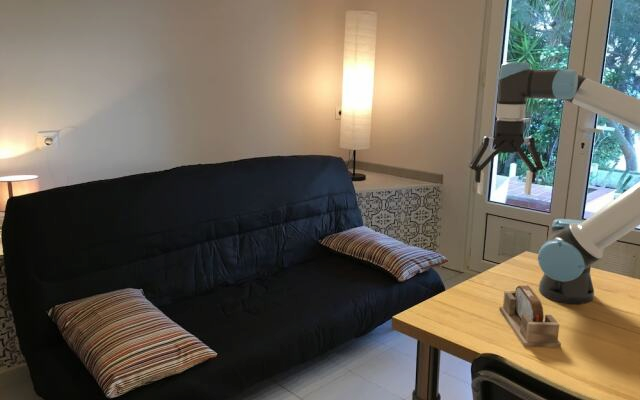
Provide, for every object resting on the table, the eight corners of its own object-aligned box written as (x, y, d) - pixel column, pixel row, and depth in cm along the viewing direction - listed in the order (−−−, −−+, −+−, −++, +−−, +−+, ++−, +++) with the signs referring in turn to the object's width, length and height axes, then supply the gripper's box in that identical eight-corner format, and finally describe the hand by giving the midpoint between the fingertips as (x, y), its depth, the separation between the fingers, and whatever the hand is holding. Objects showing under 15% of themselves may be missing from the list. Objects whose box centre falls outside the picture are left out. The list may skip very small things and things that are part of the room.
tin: (541, 336, 131) (547, 306, 129) (528, 335, 131) (535, 305, 129) (521, 308, 146) (527, 280, 144) (510, 307, 146) (515, 279, 144)
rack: (531, 310, 147) (533, 291, 146) (560, 347, 128) (563, 325, 126) (499, 310, 148) (501, 290, 146) (523, 346, 128) (526, 324, 127)
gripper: (550, 118, 147) (542, 190, 153) (461, 118, 148) (457, 190, 154) (561, 120, 140) (552, 197, 145) (468, 120, 141) (462, 196, 146)
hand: (503, 193), depth 149 cm, fingers open, 13 cm apart
